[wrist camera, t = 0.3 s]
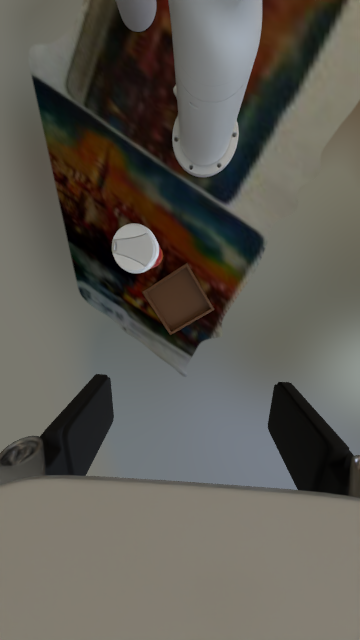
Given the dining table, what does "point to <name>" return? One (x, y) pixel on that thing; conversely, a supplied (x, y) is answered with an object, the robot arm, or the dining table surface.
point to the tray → (178, 299)
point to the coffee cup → (137, 13)
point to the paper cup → (136, 248)
